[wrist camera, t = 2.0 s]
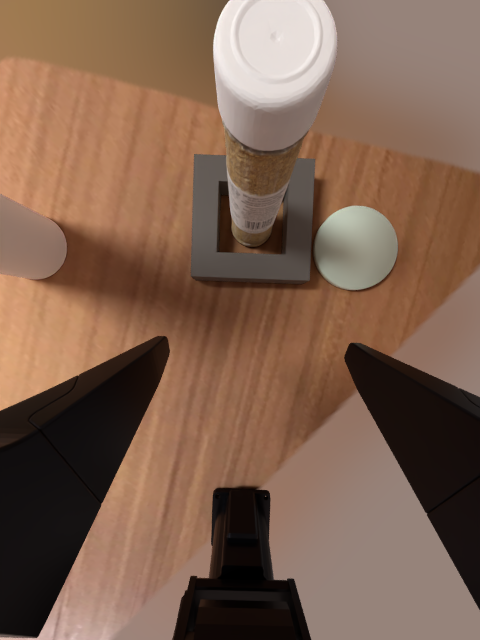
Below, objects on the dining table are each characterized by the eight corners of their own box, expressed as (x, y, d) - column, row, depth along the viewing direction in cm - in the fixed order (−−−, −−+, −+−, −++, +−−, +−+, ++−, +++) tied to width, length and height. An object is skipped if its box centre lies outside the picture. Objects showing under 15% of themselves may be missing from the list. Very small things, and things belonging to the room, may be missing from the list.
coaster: (390, 291, 20) (395, 290, 19) (311, 288, 20) (313, 288, 19) (395, 210, 19) (400, 207, 19) (314, 207, 19) (317, 204, 19)
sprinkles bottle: (274, 210, 19) (353, -26, 6) (268, 251, 20) (332, 110, 6) (233, 204, 19) (220, -47, 6) (227, 245, 20) (202, 91, 6)
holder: (302, 284, 20) (309, 280, 18) (195, 280, 20) (190, 276, 18) (307, 175, 19) (315, 158, 17) (198, 171, 19) (194, 154, 17)
